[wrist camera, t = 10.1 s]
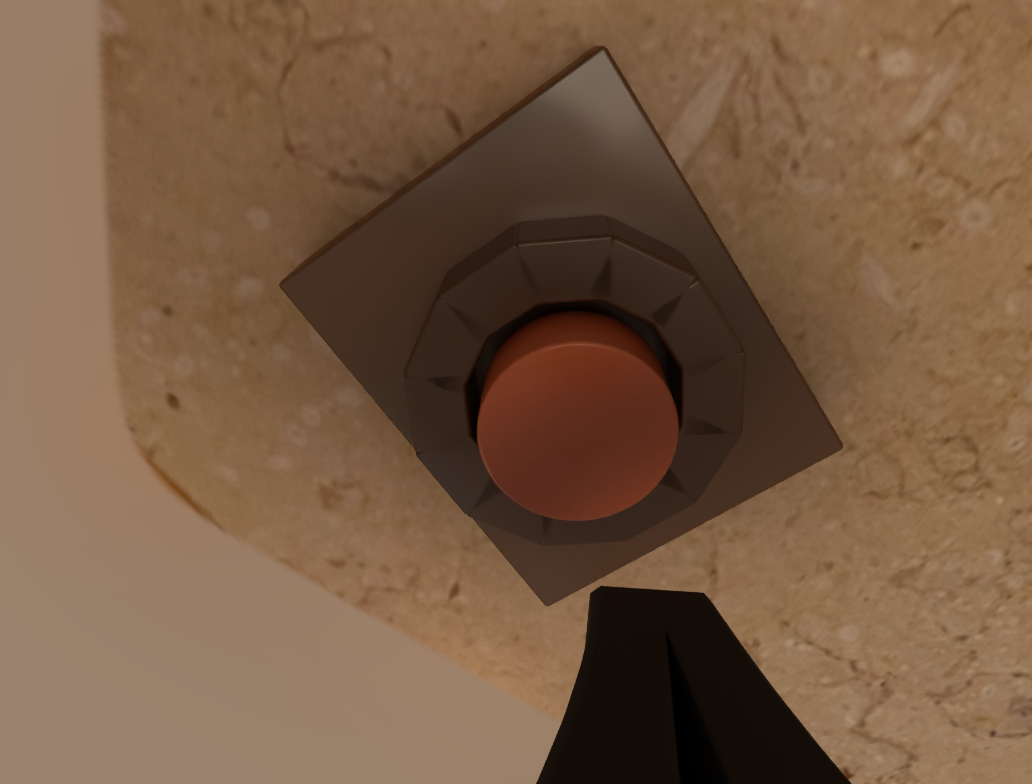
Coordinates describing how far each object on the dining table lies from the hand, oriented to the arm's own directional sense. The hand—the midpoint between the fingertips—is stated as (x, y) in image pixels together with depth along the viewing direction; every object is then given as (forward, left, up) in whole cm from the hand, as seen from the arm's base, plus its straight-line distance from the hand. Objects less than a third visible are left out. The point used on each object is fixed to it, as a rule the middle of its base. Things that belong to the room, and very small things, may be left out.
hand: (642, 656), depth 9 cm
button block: (-1, 0, -10) cm, 10 cm away
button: (-1, 0, -7) cm, 7 cm away
